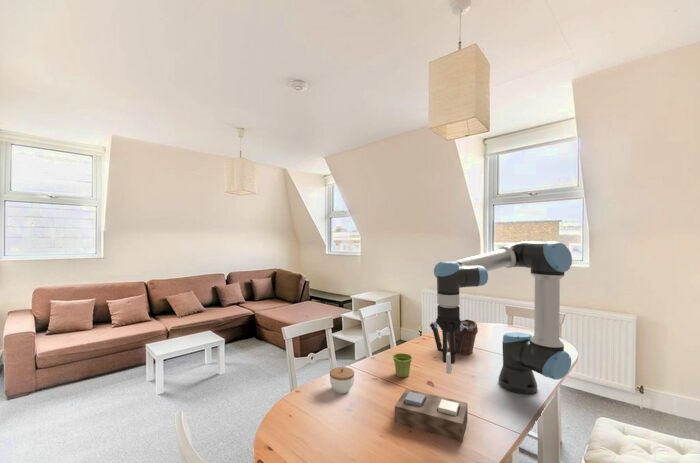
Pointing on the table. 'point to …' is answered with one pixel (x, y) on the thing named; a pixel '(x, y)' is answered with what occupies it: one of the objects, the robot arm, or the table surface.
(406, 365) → the plant pot
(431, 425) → the key block
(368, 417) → the table surface
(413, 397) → the slate key
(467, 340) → the brown tapered cylinder
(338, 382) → the lidded jar
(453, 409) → the cream key
